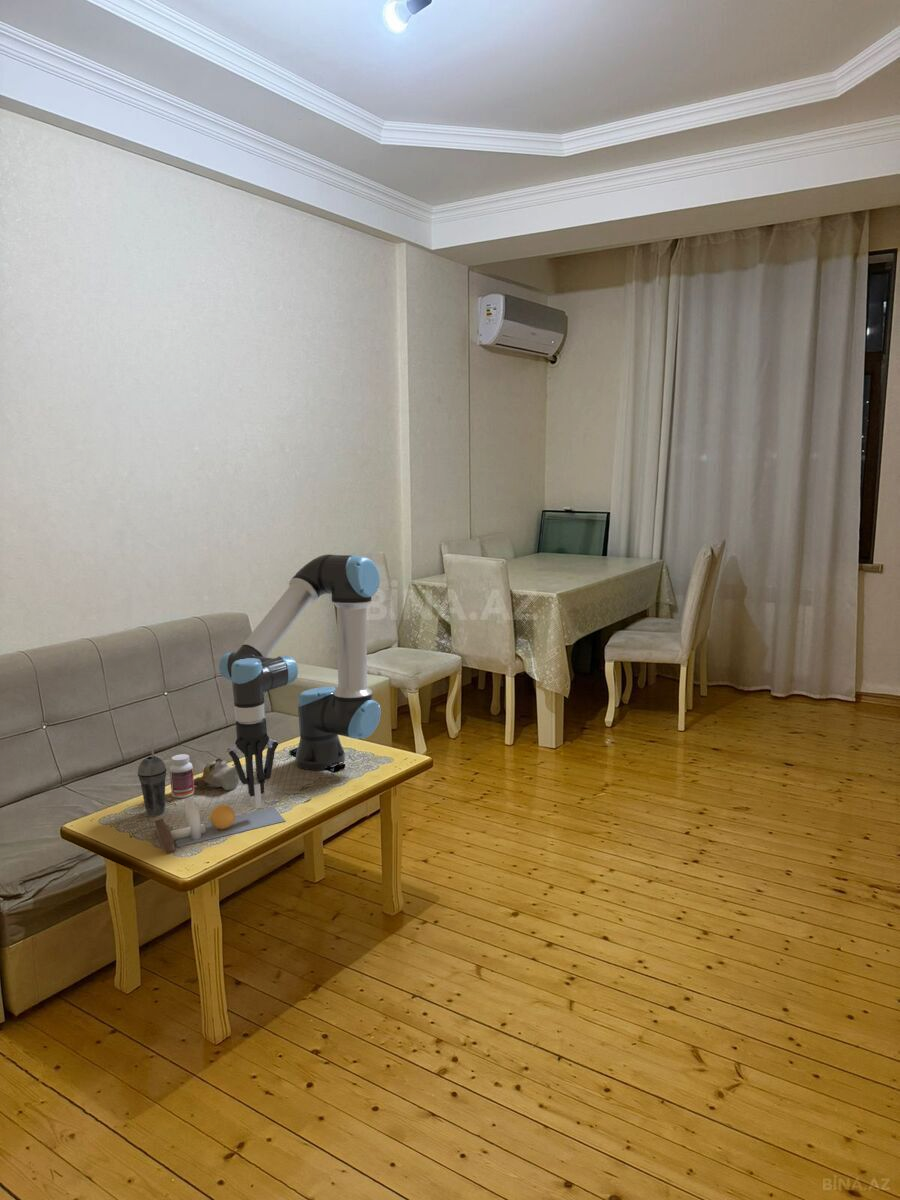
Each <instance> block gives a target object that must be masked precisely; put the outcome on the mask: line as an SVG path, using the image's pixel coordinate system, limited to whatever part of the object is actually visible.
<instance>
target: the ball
mask: <svg viewBox="0 0 900 1200" xmlns="http://www.w3.org/2000/svg"><path fill="white" fill-rule="evenodd" d="M235 816H236V815H235V811H234V809H232V807H230V805H229V806H228V805H227V804H226V805H225V804H221V805H218V806H216V807H215V808H214V809H213V810H212V811H211V813H210V817H209V818H210V819H209V820H210V822H211V823H212V825H213V826H214V827H215V828H217V829H221V830H223V829H227V828H229V827H230V826H231V825H232V824H233V822H234V819H235Z"/></svg>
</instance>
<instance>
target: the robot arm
mask: <svg viewBox="0 0 900 1200" xmlns="http://www.w3.org/2000/svg"><path fill="white" fill-rule="evenodd" d="M380 578H381V577H380V572H379V569H378V567H377V565H376V563H374V561H373V560H372V559H371V558H369V557H367V556H360V555H355V554H354V555H353V554H352V555H349V554H348V555H345V554H344V555H343V554H342V555H341V554H322V555H320V556H317V557H315V558H314V559H311V560H310V561H309V562H307V563H306V564H304V566H302V568H300V569H299V570H298V571H297V572H296V573H295V575H294V576H292V577H291V579H290V581H289V583H288V588H287V589H286V590H285V592H284V593H283V595H281V596H280V598H279V599H278V600H277V602H276V603H274V605H273V607H272V608H271V609H270V610H269V611H268V612H267V614H266V615H265V616H264V617H263V618H262V620H261V621H260V622H259V624H257V626H256V627H255V628H254V630H253V631H252V632H251V633H250V635H248V637H247V638H246V639H245V641H244V642H243V643H242V644H241V646H240V647H239V648H238V649H237V650H236V651H233V652H231V651H230V652H227V653H225V654H223V655H222V656H221V658H220V660H219V662H218V671H219V674H220V675H221V677H223V678H224V679H225V680H228V681H231V684H232V695H233V696H232V697H233V704H234V717H235V718H234V719H235V721H236V722H235V732H236V740H235V742H234V744H235V745H234V746H232V747H231V748H227V750H226V752H227V754H228V755H229V756H230V757H231V759H232V761H233V765H234V766H235V768H236V770H237V773H238V776H239V779H240V781H239V782H241V783H242V785H247V788H248V789H247V793H248V795H249V796H250V797H252V804H253V807H254V808H255V809H256V810H259V809H261V808H263V805H262V795H263V794H265V783H266V780H269V779H270V778H271V776H272V771H273V765H274V758H275V754H276V753H275V752H276V749H277V748H278V746H279V743H278V741H276V739H271V738H270V736H269V735H268V731H267V720H266V705H265V693H266V692H269V691H271V690H275V689H277V688H278V689H279V688H280V687H285V686H287V685H289V684H291V683H292V682H294V681H296V680H297V677H298V675H299V669H298V667H299V666H298V664H297V662H296V660H295V659H294V658H293V657H292V656H290V655H281V656H277V657H275V658H272V657H269V655H270V654H271V653H272V652H273V651H274V649H275V648H276V647H277V646H278V644H279V643H280V642H281V641H282V639H283V637H285V635H286V634H287V633H288V632H289V630H290V629H291V627H293V625H294V624H295V622H296V621H297V620H298V619H299V618H300V616H302V614H303V612H304V611H305V610H306V608H307V607H308V606H309V605H310V604H311V603H312V604H313V603H315V602H317V601H318V599H319V598H321V596H323V595H325V594H326V595H327V594H329V595H331V603H332V604H333V605H335V607H336V613H337V614H336V618H337V620H336V624H337V625H336V627H337V629H336V630H337V631H336V632H337V633H336V636H337V684H338V685H337V688H335V687H334V686H320V687H315V688H310V689H307V690H304V691H302V692H301V693H299V695H298V698H297V701H298V702H297V703H298V705H297V710H298V712H297V713H298V724H299V742H298V746H297V749H296V754H295V765H296V766H297V767H298V768H300V769H302V770H303V769H304V770H308V771H322V770H326V769H325V768H326V767H327V766H328V765H330V764H332V763H335V762H343V763H344V762H345V761H346V756H345V755H346V754H345V750H344V747H343V746H342V745H343V744H342V742H341V740H340V738H339V735H340V736H343V737H344V736H345V737H349V738H350V739H351V738H352V739H355V738H356V739H366V738H368V737H370V736H371V735H373V733H374V732H375V731H376V729H377V727H378V725H379V724H380V719H381V713H382V711H381V706H380V704H379V703H378V702H377V701H376V700H374V699H373V691H372V689H370V688H369V686H368V651H367V649H368V648H367V647H368V646H367V645H368V644H367V637H368V636H367V635H368V634H367V631H368V630H367V627H368V625H367V607H368V605H369V604H371V603H372V597H373V596H375V595H376V594H377V592H378V588H379V587H380ZM266 746H267V750H266V756H265V763H264V762H263V757H264V755H263V752H264V750H265V748H266ZM239 751H240V752H241V753H242V754H243V755H244V758H245V759H244V760H245V762H244V763H245V772H244V769H243V766H242V764H241V763H242V762H241V761H240V757H239V756H238V755H239ZM254 758H255V760H254ZM253 760H254V761H255V762H253ZM253 763H255V771H256V780H255V775H254V764H253ZM263 764H264V765H263ZM245 773H246V775H245Z"/></svg>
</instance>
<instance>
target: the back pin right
mask: <svg viewBox="0 0 900 1200" xmlns="http://www.w3.org/2000/svg"><path fill="white" fill-rule="evenodd" d="M192 804H196V800H195V797H192V796H188V797H185V798H184V809H185V821H186V827H190V817H189V806H190V805H192Z"/></svg>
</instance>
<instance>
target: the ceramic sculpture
mask: <svg viewBox="0 0 900 1200" xmlns="http://www.w3.org/2000/svg"><path fill="white" fill-rule="evenodd" d="M202 772H203V773H202V776H198V777H195V778H194V787H197V788H203V787H205V788H206V787H211V788H223V789H224V790H225V791H232V790H234V789H235V788H236V787H237V786H238V785H239V784H240V782H241V781H240V779H239V776H238V773H237V770H236V768H235V765H234V766H229V764H227V762H226V761H225V760H224V759H221V758H217V759H215V761H212V762H209V763H208V764H206V765H205V767H204V768H203V771H202Z"/></svg>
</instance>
